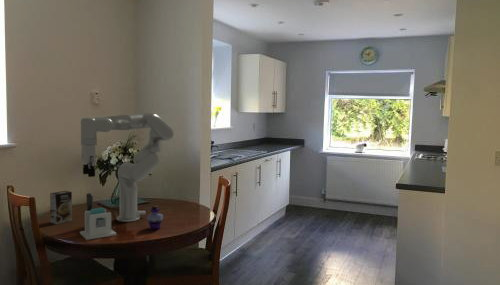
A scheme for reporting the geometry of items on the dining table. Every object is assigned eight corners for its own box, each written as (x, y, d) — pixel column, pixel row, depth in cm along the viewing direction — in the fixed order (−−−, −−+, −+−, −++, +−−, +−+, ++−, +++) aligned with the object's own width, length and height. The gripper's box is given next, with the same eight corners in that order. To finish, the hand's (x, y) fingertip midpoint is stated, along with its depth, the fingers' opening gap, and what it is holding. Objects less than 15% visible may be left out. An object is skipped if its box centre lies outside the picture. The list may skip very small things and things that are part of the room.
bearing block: (108, 228, 208) (108, 207, 207) (116, 234, 198) (116, 212, 197) (79, 233, 199) (79, 211, 199) (86, 239, 190) (86, 216, 189)
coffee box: (57, 224, 214) (56, 194, 212) (49, 222, 217) (49, 192, 216) (72, 220, 221) (72, 191, 220) (65, 218, 225) (64, 190, 224)
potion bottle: (156, 225, 216) (156, 203, 215) (166, 228, 211) (167, 205, 210) (142, 228, 209) (142, 205, 208) (153, 232, 204) (153, 208, 203)
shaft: (92, 215, 212) (91, 193, 211) (104, 225, 195) (104, 200, 194) (86, 216, 210) (85, 193, 209) (98, 226, 193) (97, 201, 192)
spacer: (102, 215, 201) (102, 207, 201) (104, 217, 198) (104, 209, 198) (90, 217, 198) (90, 209, 198) (93, 218, 195) (93, 210, 194)
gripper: (76, 141, 212) (77, 173, 213) (85, 143, 198) (85, 178, 199) (91, 140, 216) (91, 172, 217) (101, 143, 202) (101, 177, 203)
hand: (89, 175), depth 208 cm, fingers open, 9 cm apart
